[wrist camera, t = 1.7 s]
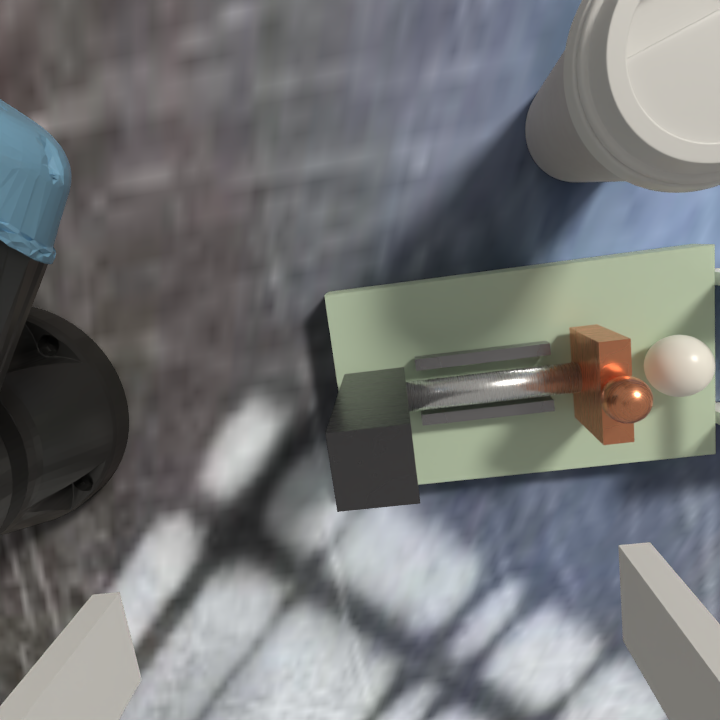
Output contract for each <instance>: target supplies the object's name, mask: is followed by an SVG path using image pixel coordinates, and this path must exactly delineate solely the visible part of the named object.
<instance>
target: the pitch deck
mask: <svg viewBox="0 0 720 720" xmlns="http://www.w3.org/2000/svg"><path fill="white" fill-rule="evenodd" d="M324 297H325V303H326V310H327V317H328V324H329V330H330V337H331V344H332V351H333V357H334V364H335V371H336V378H337V385H338V391H339V390H340V386H341V383H342V380H343V377H344V374H350V373H358V372H366V371H375V370H383V369H391V368H400V367H404V371H405V379H406V382H409V381H417V380H426V379H434V378H443V377H451V376H460V375H468V374H477V373H485V372H494V371H502V370H511V369H519V368H528V367H536V366H545V365H553V364H562V363H570V362H571V347H570V330H569V328H570V327H578V326H586V325H595V324H598V325H600V326H602V327H605V328H607V329H609V330H612V331H614V332H616V333H619V334H621V335H624V336H626V337H628V338H631V359H632V376H634V377H637V378H639V379H641V380H642V381H644V382H645V383H646V384H647V385H648V386H649V388H650V389H651V391H652V394H653V406H652V409H651V411H650V413H649V414H648V415H647V416H646V417H645V418H644V419H642V420H641V421H638V422H636V423H634V442H629V443H620V444H611V445H603V444H602V443H601V442H600V441H599V440H598V439H597V438H596V437H595V436H594V435H593V434H592V433H590V432H589V431H588V430H587V429H586V428H585V427H584V426H583V425H582V424H581V423H580V422H579V421H578V420H577V419H576V418H575V415H574V398H573V393H569V394H561V395H552V396H550V397H551V398H552V399H553V400H554V408H555V411H551V412H542V413H533V414H524V415H515V416H506V417H497V418H488V419H479V420H470V421H461V422H452V423H443V424H434V425H425V426H423V425H422V418H421V410H420V411H411V412H410V420H411V429H412V437H413V446H414V454H415V463H416V471H417V480H418V485H420V484H430V483H439V482H449V481H459V480H468V479H478V478H488V477H497V476H507V475H517V474H526V473H536V472H546V471H555V470H565V469H575V468H584V467H594V466H604V465H613V464H623V463H633V462H642V461H652V460H662V459H671V458H681V457H691V456H700V455H710V454H716V451H715V373H714V376H713V378H712V380H711V382H710V383H709V384H708V386H707V387H706V388H704V389H703V390H702V391H700V392H698V393H696V394H694V395H691V396H686V397H673V396H668V395H666V394H663V393H661V392H659V391H658V390H656V389H655V388H654V387H653V386H652V385H651V384H650V383H649V381H648V380H647V378H646V375H645V372H644V359H645V356H646V354H647V352H648V350H649V349H650V348H651V346H652V345H653V344H655V343H656V342H657V341H659V340H660V339H662V338H665V337H668V336H671V335H687V336H691V337H694V338H696V339H698V340H700V341H702V342H703V343H704V344H705V345H707V346H708V348H709V349H710V350H711V352H712V354H713V356H714V359H715V250H714V244H689V245H681V246H673V247H666V248H658V249H651V250H643V251H635V252H628V253H620V254H613V255H605V256H597V257H590V258H582V259H575V260H567V261H559V262H552V263H544V264H536V265H529V266H521V267H514V268H506V269H498V270H491V271H483V272H476V273H468V274H460V275H453V276H445V277H438V278H430V279H422V280H415V281H407V282H399V283H392V284H384V285H377V286H369V287H361V288H354V289H346V290H339V291H331V292H328V293H327V294H326V295H324ZM538 341H547V342H549V343H550V348H551V355H546V356H537V357H529V358H520V359H512V360H504V361H495V362H487V363H478V364H470V365H462V366H453V367H445V368H436V369H428V370H420V371H416V367H415V359H414V357H415V356H423V355H431V354H439V353H448V352H456V351H464V350H472V349H481V348H489V347H497V346H505V345H514V344H522V343H530V342H538ZM543 397H545V396H543ZM534 398H536V397H534ZM525 399H527V398H525ZM517 400H518V399H517ZM508 401H509V400H508ZM499 402H501V401H499ZM490 403H492V402H490ZM481 404H483V403H481ZM473 405H474V404H473ZM464 406H465V405H464ZM455 407H457V406H455ZM446 408H448V407H446ZM437 409H439V408H437ZM429 410H430V409H429Z"/></svg>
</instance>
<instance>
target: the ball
mask: <svg viewBox="0 0 720 720" xmlns="http://www.w3.org/2000/svg"><path fill="white" fill-rule="evenodd" d="M644 372H645V375H646V378H647V380H648V381H649V383H650V384H651V385H652V386H653V387H654V388H655V389H656V390H658V391H659V392H661V393H663V394H666V395H668V396H673V397H686V396H691V395H694V394H696V393H698V392H700V391H702V390H703V389H704V388H706V387H707V386H708V384H709V383H710V382H711V380H712V378H713V376H714V373H715V359H714V356H713V354H712V352H711V350H710V349H709V348H708V346H707V345H705V344H704V343H703V342H702V341H700V340H698V339H696V338H694V337H691V336H687V335H671V336H668V337H665V338H662V339H660V340H659V341H657V342H656V343H655V344H653V345H652V346H651V348H650V349H649V350H648V352H647V354H646V356H645V359H644Z"/></svg>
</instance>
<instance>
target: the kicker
mask: <svg viewBox="0 0 720 720" xmlns="http://www.w3.org/2000/svg"><path fill="white" fill-rule="evenodd" d="M569 330H570V347H571V362H570V363H562V364H553V365H545V366H536V367H528V368H519V369H511V370H502V371H494V372H485V373H477V374H468V375H460V376H451V377H443V378H434V379H426V380H417V381H409V382H406V379H405V371H404V367H400V368H391V369H383V370H375V371H366V372H358V373H350V374H344V377H343V380H342V383H341V386H340V390H339V393H338V396H337V399H336V402H335V405H334V408H333V411H332V414H331V417H330V421H329V424H328V427H327V430H326V433H325V434H326V441H327V447H328V454H329V460H330V467H331V473H332V480H333V486H334V492H335V499H336V505H337V512H339V511H349V510H359V509H369V508H379V507H388V506H398V505H408V504H418V503H420V497H419V488H418V480H417V471H416V463H415V454H414V446H413V437H412V429H411V420H410V412H411V411H420V410H429V409H437V408H446V407H455V406H464V405H473V404H481V403H490V402H499V401H508V400H517V399H525V398H534V397H543V396H552V395H561V394H569V393H573V398H574V415H575V418H576V419H577V420H578V421H579V422H580V423H581V424H582V425H583V426H584V427H585V428H586V429H587V430H588V431H589V432H590V433H592V434H593V435H594V436H595V437H596V438H597V439H598V440H599V441H600V442H601V443H602V444H603V445H611V444H620V443H629V442H634V423H636V422H638V421H641V420H642V419H644V418H645V417H646V416H647V415H648V414H649V413H650V411H651V409H652V406H653V394H652V391H651V389H650V388H649V386H648V385H647V384H646V383H645V382H644V381H642V380H641V379H639V378H637V377H634V376H632V359H631V338H628V337H626V336H624V335H621V334H619V333H616V332H614V331H612V330H609V329H607V328H605V327H602V326H600V325H598V324H595V325H586V326H578V327H570V328H569Z"/></svg>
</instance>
